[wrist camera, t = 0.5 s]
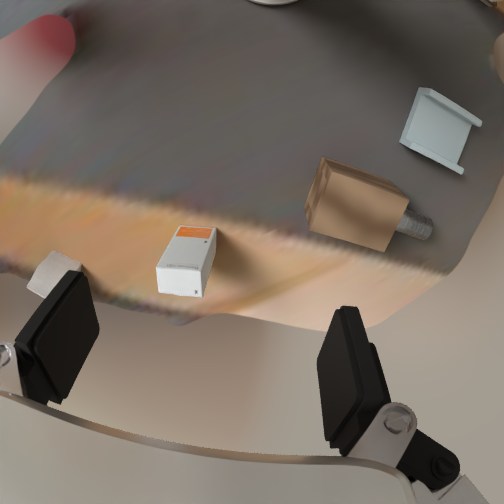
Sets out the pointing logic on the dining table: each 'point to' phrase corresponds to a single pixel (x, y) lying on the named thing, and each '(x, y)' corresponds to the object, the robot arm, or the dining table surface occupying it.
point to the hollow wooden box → (354, 205)
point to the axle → (415, 225)
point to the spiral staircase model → (490, 2)
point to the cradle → (438, 128)
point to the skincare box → (187, 261)
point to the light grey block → (51, 272)
